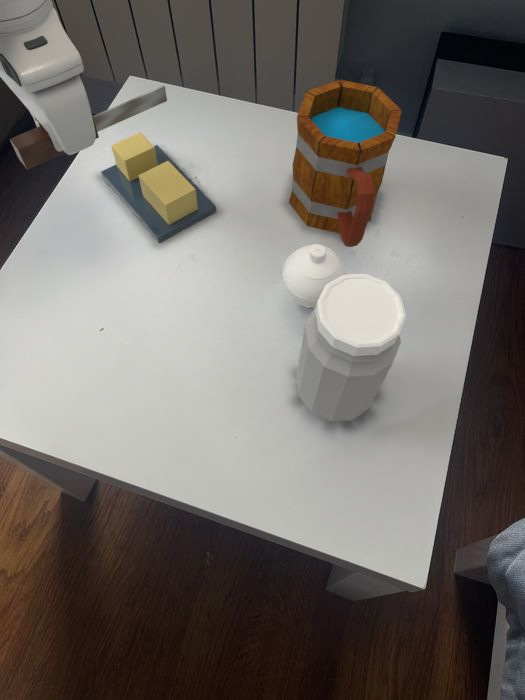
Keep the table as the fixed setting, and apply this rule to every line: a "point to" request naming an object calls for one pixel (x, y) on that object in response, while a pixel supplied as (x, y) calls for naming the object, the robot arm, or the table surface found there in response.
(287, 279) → the spinning top
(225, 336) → the table surface
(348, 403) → the jar
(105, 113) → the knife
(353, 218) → the mug
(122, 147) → the block
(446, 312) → the table surface
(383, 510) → the table surface
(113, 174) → the butter dish
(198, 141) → the table surface
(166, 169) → the butter block
